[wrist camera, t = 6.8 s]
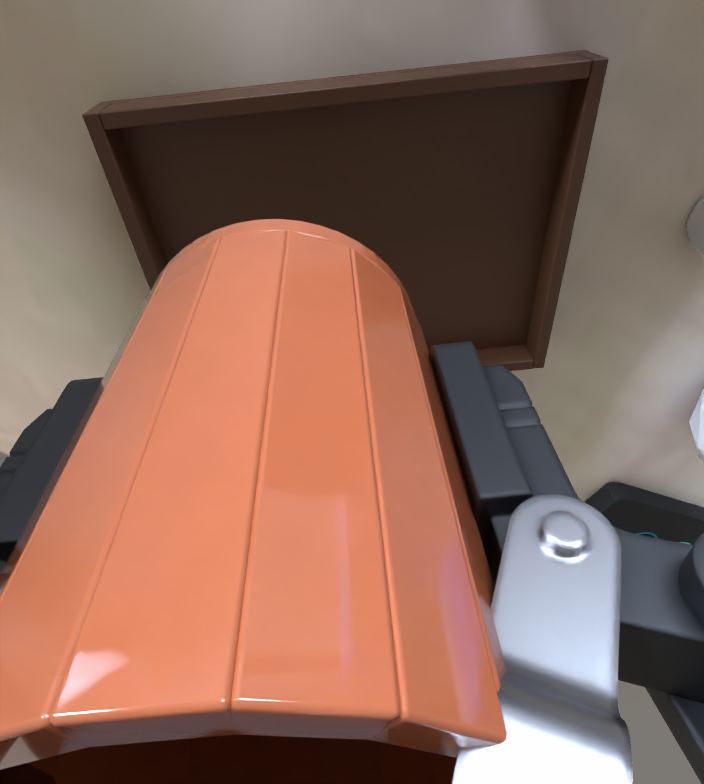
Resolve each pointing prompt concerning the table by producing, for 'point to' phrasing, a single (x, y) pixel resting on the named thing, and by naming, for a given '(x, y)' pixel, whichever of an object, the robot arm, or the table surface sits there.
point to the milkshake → (696, 226)
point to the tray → (382, 180)
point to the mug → (255, 541)
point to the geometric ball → (698, 426)
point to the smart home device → (649, 513)
